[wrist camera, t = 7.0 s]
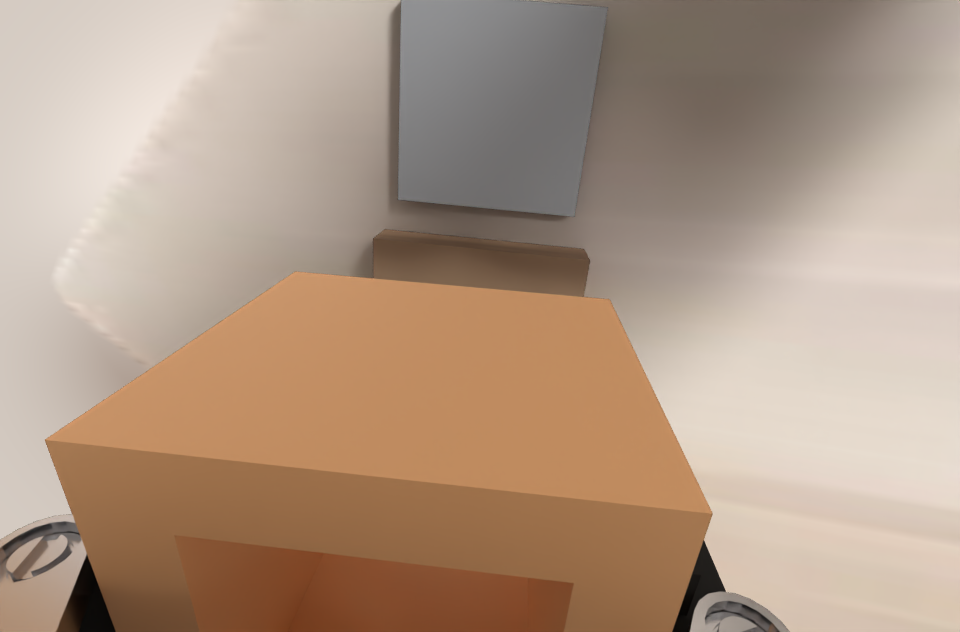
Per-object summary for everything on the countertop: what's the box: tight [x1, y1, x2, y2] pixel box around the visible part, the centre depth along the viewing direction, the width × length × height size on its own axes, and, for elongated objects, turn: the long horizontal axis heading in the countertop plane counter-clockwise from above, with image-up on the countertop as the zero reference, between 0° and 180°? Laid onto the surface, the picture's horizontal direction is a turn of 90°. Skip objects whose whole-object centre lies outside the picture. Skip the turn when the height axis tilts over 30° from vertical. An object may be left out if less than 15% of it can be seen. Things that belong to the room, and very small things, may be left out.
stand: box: [373, 229, 590, 297], centre depth 26 cm, size 12×12×10 cm
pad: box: [398, 0, 608, 217], centre depth 25 cm, size 10×10×1 cm
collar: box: [45, 272, 713, 632], centre depth 9 cm, size 7×7×6 cm
